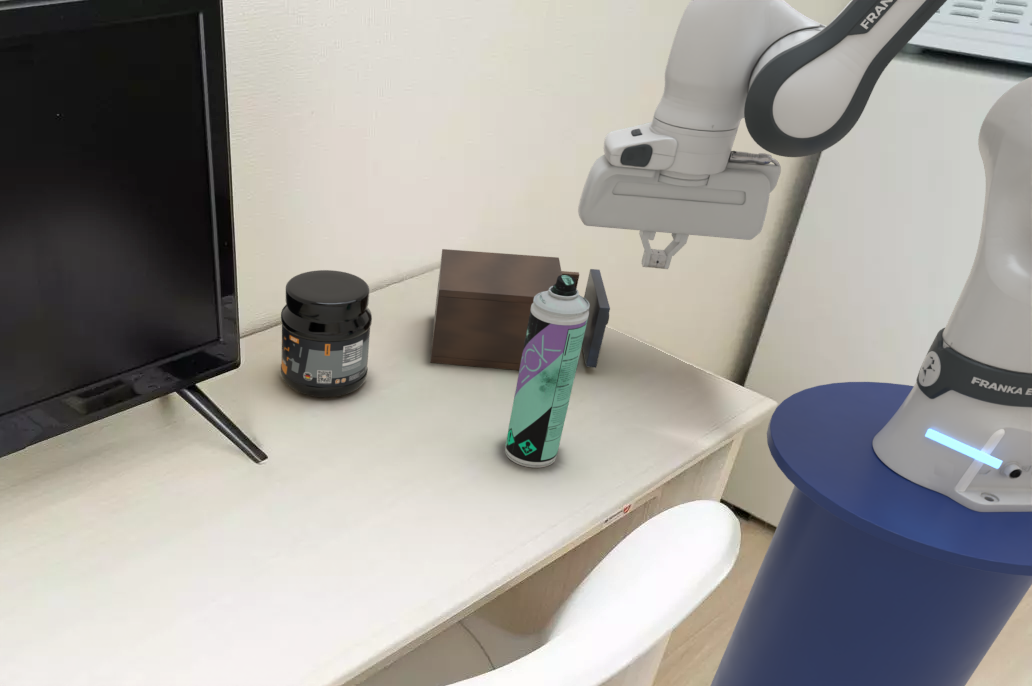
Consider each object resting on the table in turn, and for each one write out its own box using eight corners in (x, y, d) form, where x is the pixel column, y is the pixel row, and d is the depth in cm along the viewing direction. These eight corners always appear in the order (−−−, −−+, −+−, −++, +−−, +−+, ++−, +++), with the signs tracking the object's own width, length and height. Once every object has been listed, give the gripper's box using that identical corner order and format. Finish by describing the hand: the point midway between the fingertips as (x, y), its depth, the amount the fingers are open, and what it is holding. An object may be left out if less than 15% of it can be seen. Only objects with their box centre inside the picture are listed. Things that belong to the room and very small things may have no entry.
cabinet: (545, 327, 124) (559, 257, 119) (551, 373, 114) (566, 299, 108) (434, 318, 126) (442, 248, 120) (430, 362, 116) (439, 289, 110)
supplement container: (293, 353, 118) (295, 262, 110) (375, 365, 115) (382, 273, 108) (269, 393, 110) (269, 298, 102) (356, 407, 107) (363, 311, 100)
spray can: (526, 434, 103) (560, 262, 91) (566, 455, 100) (608, 280, 88) (494, 451, 100) (525, 276, 88) (534, 474, 97) (572, 295, 85)
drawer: (596, 326, 123) (609, 270, 118) (606, 368, 113) (620, 309, 109) (482, 317, 124) (491, 261, 120) (483, 358, 115) (492, 298, 110)
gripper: (779, 146, 104) (739, 264, 112) (592, 132, 106) (566, 248, 115) (794, 163, 99) (751, 285, 107) (597, 148, 101) (570, 268, 110)
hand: (654, 266), depth 111 cm, fingers closed
